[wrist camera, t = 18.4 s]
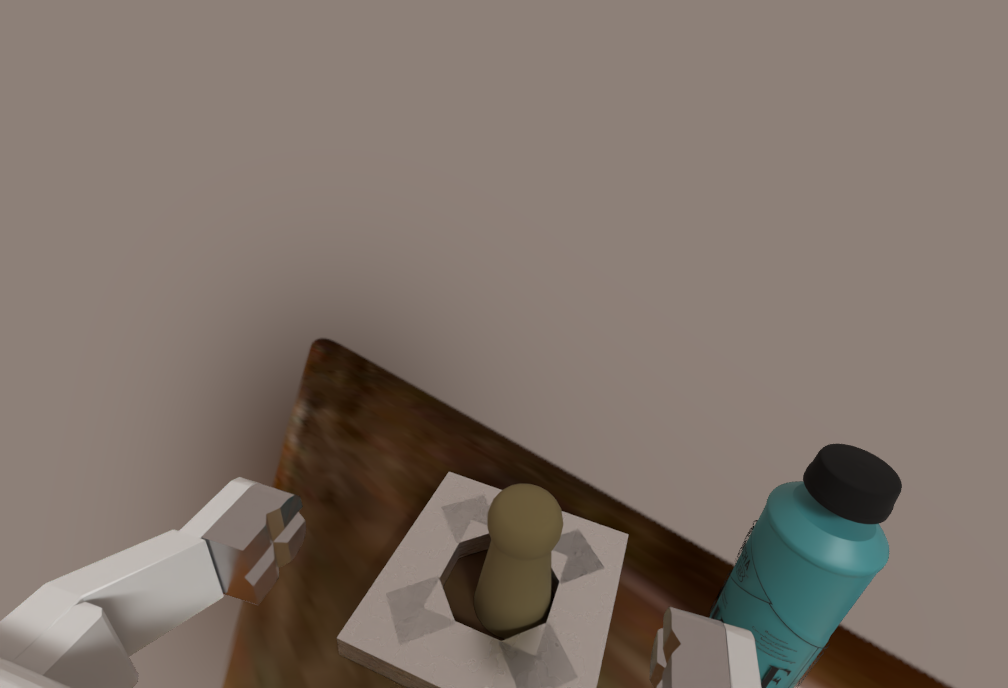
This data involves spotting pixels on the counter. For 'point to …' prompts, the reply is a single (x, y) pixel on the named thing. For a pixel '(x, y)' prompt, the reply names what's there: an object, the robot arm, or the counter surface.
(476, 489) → the jig plate
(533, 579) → the olive peg doll
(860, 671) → the counter surface
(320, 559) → the counter surface
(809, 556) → the beverage bottle
